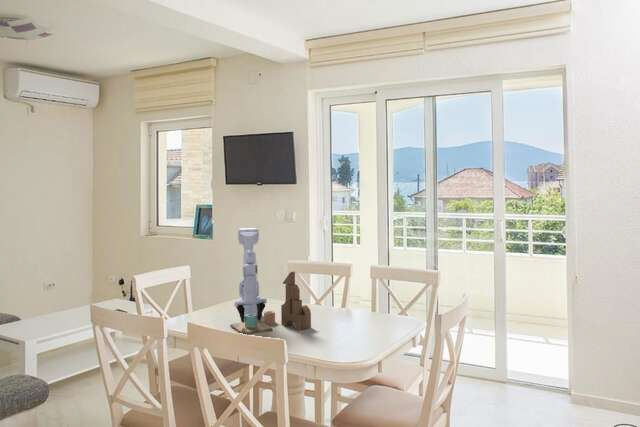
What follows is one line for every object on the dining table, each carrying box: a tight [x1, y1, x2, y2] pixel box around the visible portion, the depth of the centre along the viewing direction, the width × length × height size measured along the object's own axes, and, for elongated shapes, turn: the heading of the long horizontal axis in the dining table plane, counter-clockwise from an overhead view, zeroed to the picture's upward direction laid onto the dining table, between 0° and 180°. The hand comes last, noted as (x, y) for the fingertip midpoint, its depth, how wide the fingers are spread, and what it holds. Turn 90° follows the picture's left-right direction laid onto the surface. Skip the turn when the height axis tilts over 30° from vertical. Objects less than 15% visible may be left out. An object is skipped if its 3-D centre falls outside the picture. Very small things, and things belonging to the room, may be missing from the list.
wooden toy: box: [280, 271, 312, 331], centre depth 224 cm, size 15×7×25 cm, turn 42°
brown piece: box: [229, 314, 273, 335], centre depth 221 cm, size 14×16×7 cm
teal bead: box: [244, 314, 258, 328], centre depth 221 cm, size 5×5×5 cm
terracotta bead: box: [263, 310, 276, 325], centre depth 231 cm, size 5×5×5 cm
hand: (250, 320), depth 221 cm, fingers open, 7 cm apart
